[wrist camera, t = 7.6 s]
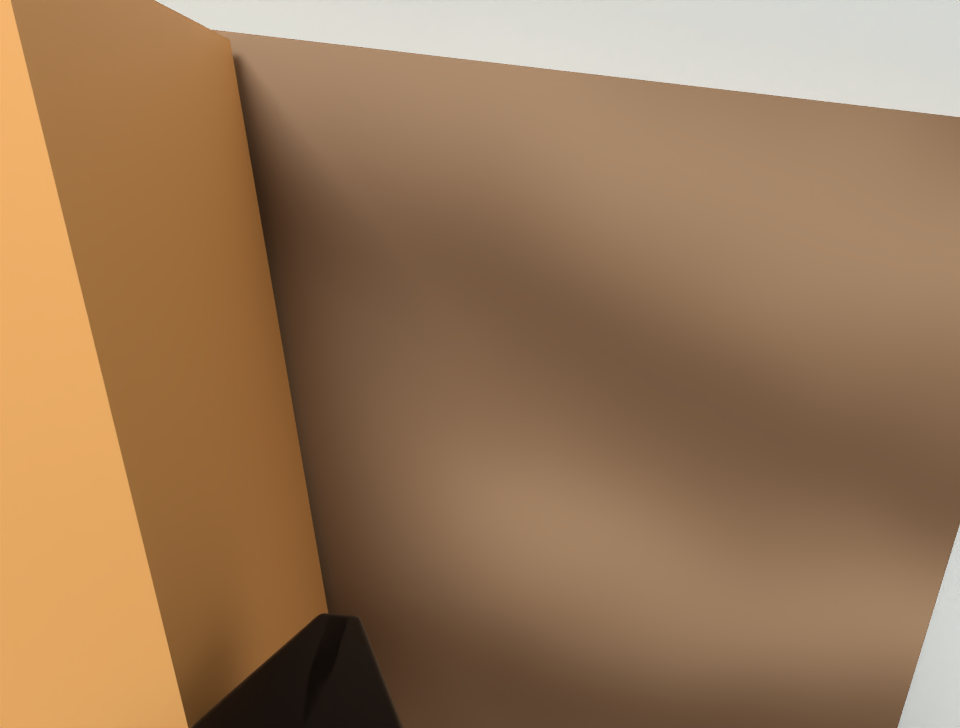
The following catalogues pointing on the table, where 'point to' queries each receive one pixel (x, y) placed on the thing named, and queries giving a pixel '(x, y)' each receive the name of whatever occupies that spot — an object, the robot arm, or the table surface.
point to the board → (614, 384)
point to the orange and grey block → (137, 378)
